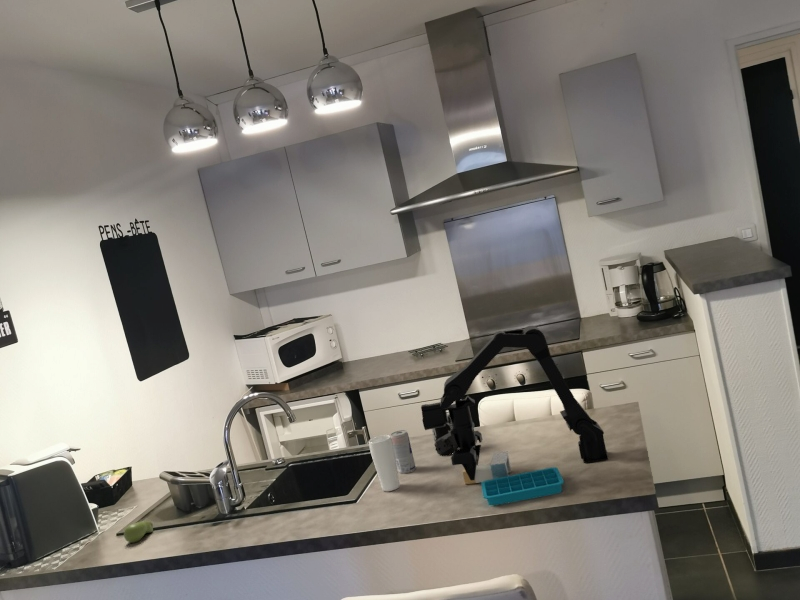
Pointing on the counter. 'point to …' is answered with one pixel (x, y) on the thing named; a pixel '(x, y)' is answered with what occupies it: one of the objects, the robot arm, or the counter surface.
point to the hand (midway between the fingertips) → (473, 476)
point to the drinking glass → (385, 461)
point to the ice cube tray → (522, 486)
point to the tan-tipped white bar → (479, 474)
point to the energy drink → (403, 451)
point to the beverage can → (441, 432)
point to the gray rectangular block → (500, 465)
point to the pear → (137, 531)
